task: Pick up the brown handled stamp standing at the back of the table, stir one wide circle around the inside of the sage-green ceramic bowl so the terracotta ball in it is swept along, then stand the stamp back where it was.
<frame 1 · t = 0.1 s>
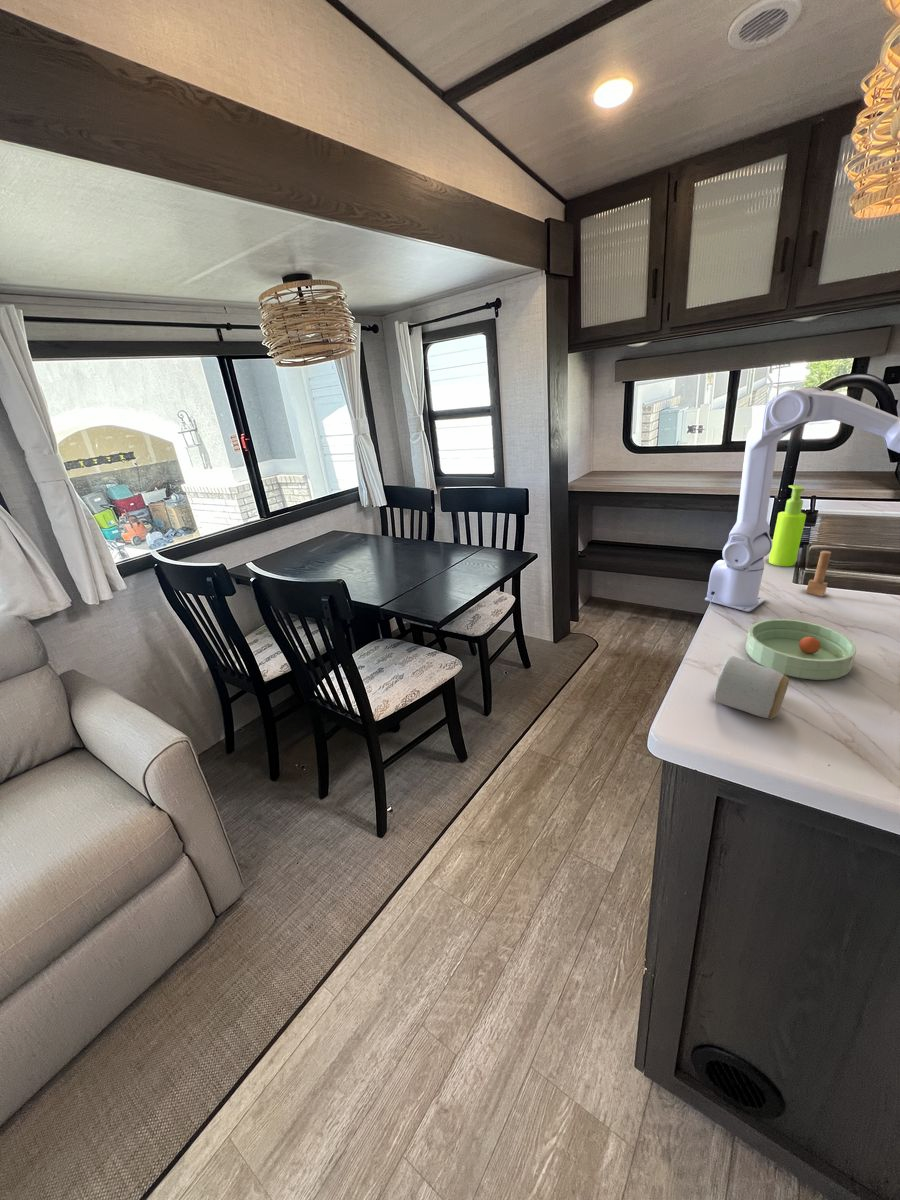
brown handled stamp: (815, 594, 105), on the counter
soap dispenser: (780, 562, 124), on the counter
ceramic mug: (746, 704, 73), on the counter
ball: (809, 645, 83), point 2 cm above the counter, touching bowl
bowl: (795, 657, 83), on the counter
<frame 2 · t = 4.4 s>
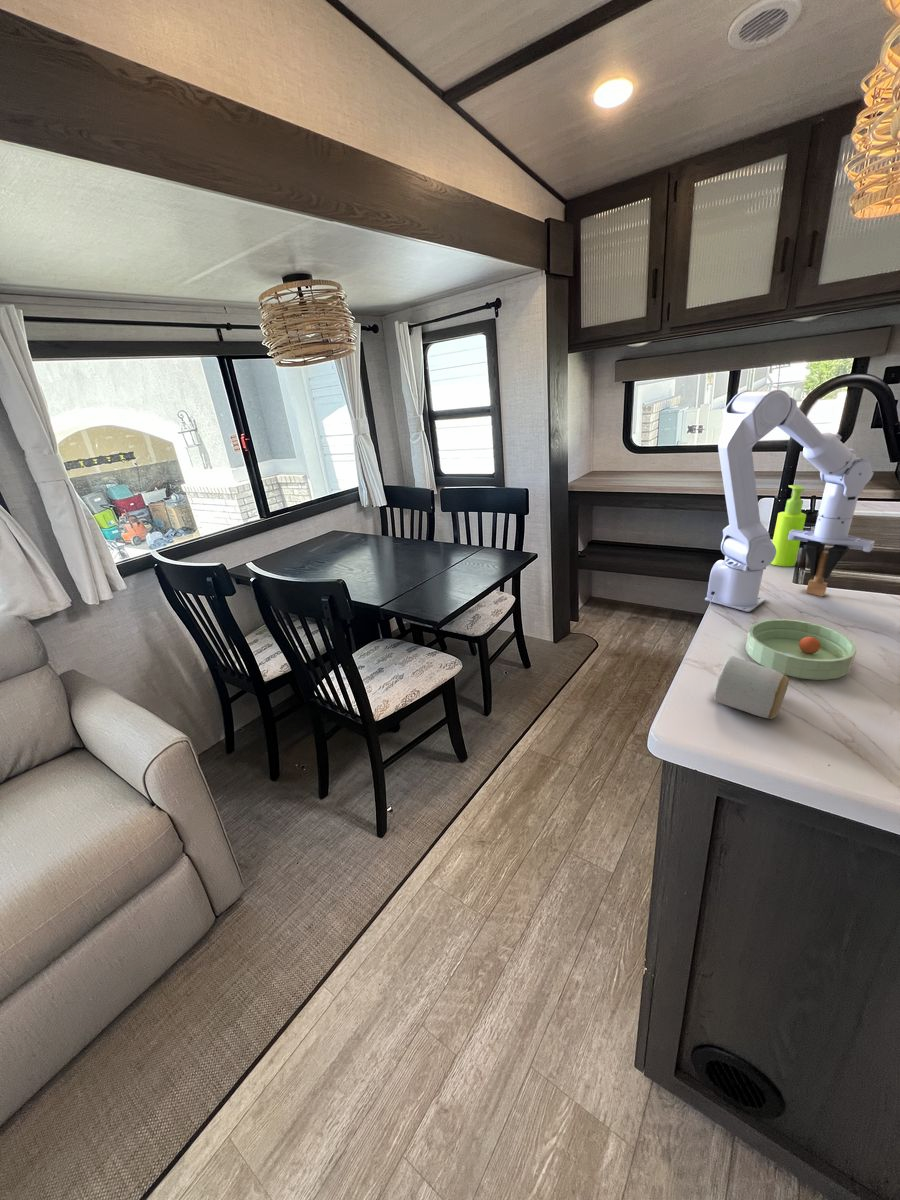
hand: (819, 575, 104), 4 cm above the counter, tool pointing down, fingers closed on brown handled stamp, 2 cm apart
brown handled stamp: (815, 594, 105), on the counter, touching gripper
everything else where it was.
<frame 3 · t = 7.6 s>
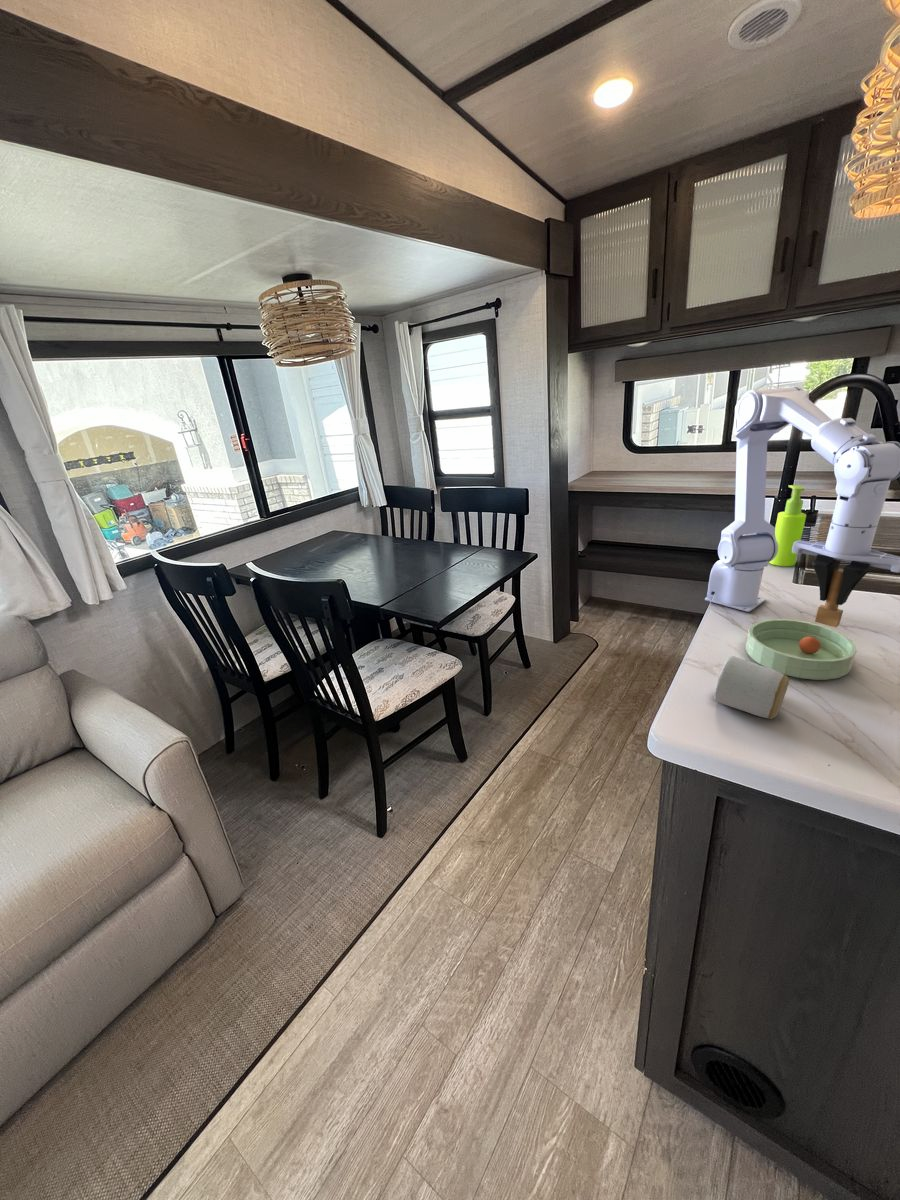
hand: (832, 601, 79), 10 cm above the counter, tool pointing down, fingers closed on brown handled stamp
brown handled stamp: (826, 623, 81), point 6 cm above the counter, touching gripper
everything else where it was.
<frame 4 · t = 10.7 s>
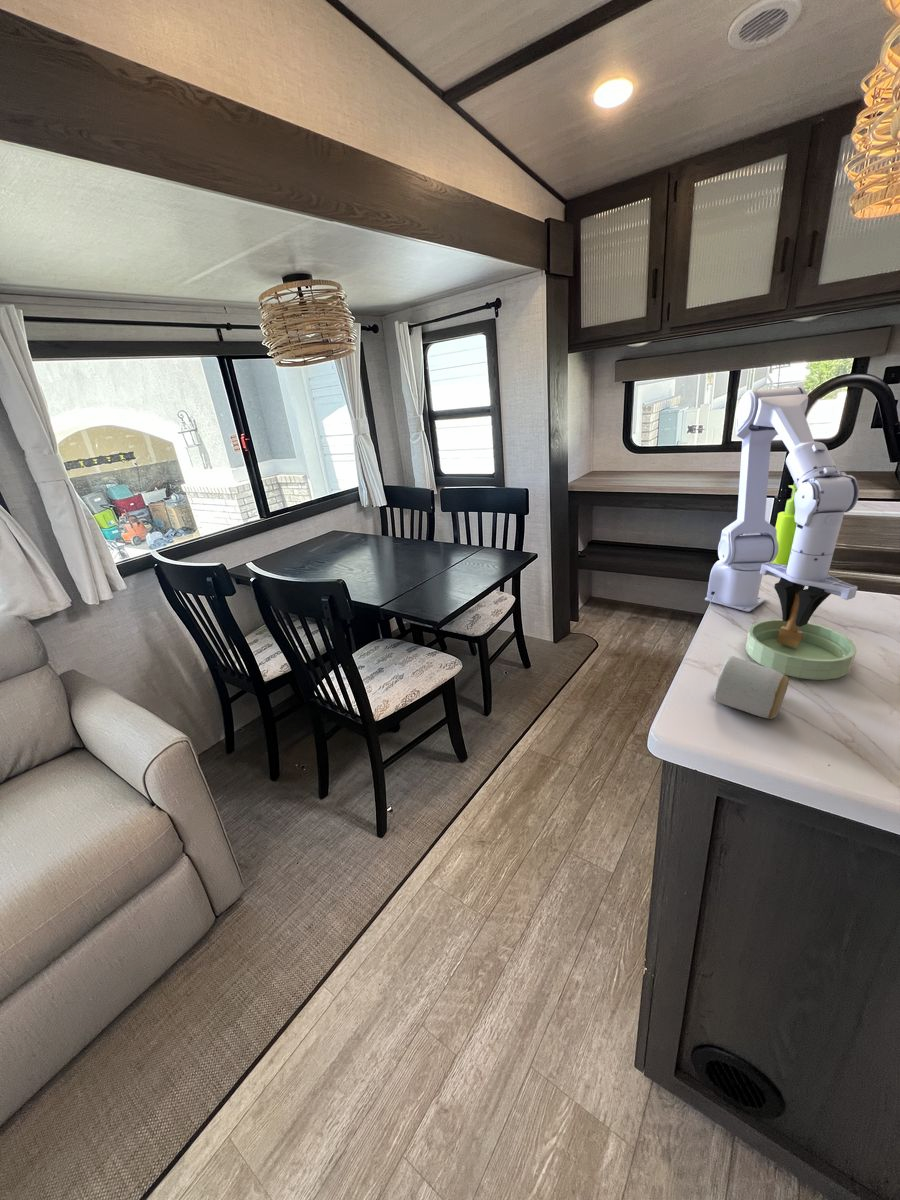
hand: (794, 622, 84), 6 cm above the counter, tool pointing down, fingers closed on brown handled stamp, 2 cm apart
brown handled stamp: (787, 644, 85), point 1 cm above the counter, touching gripper
ball: (792, 635, 86), point 2 cm above the counter, tilted 101°, touching bowl
everything else where it was.
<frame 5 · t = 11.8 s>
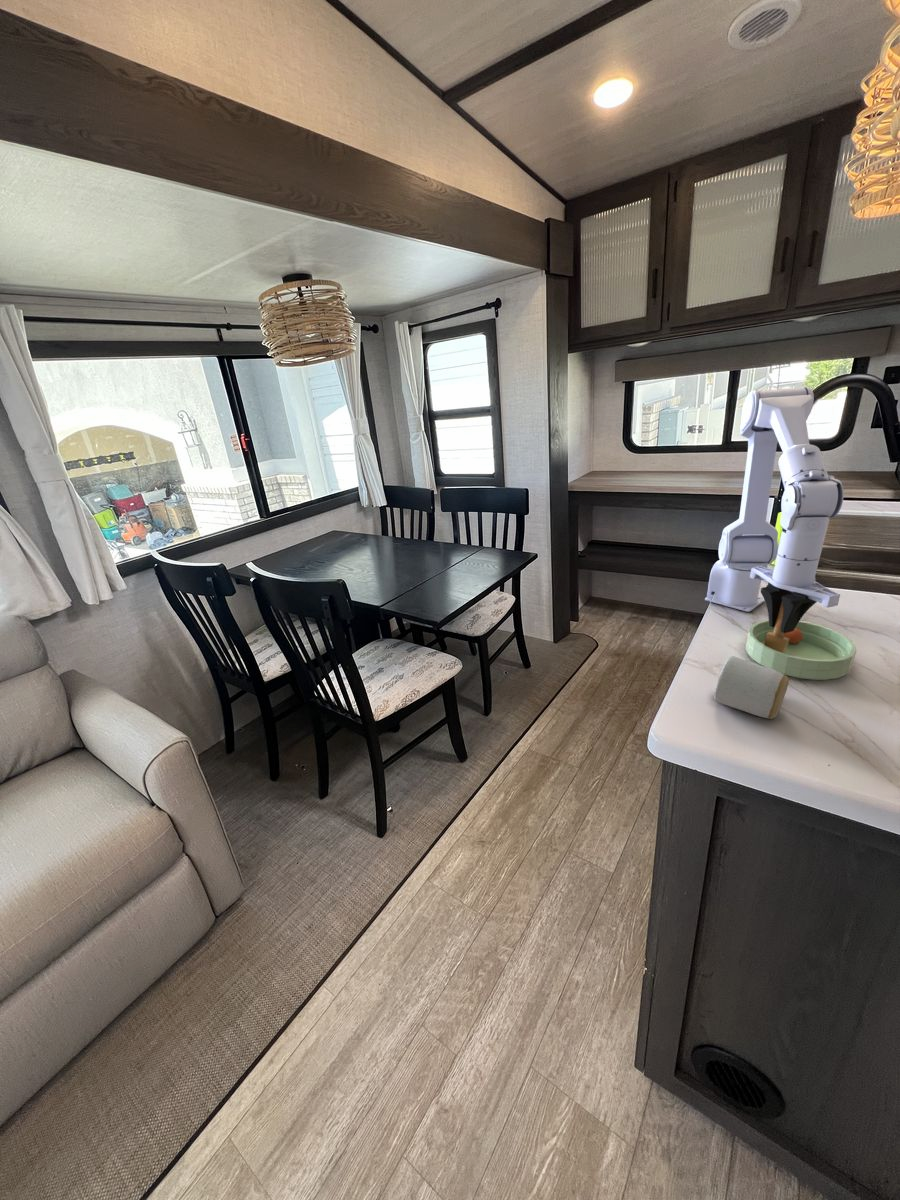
hand: (781, 628, 82), 6 cm above the counter, tool pointing down, fingers closed on brown handled stamp, 2 cm apart
brown handled stamp: (773, 650, 84), point 1 cm above the counter, touching gripper
everything else where it was.
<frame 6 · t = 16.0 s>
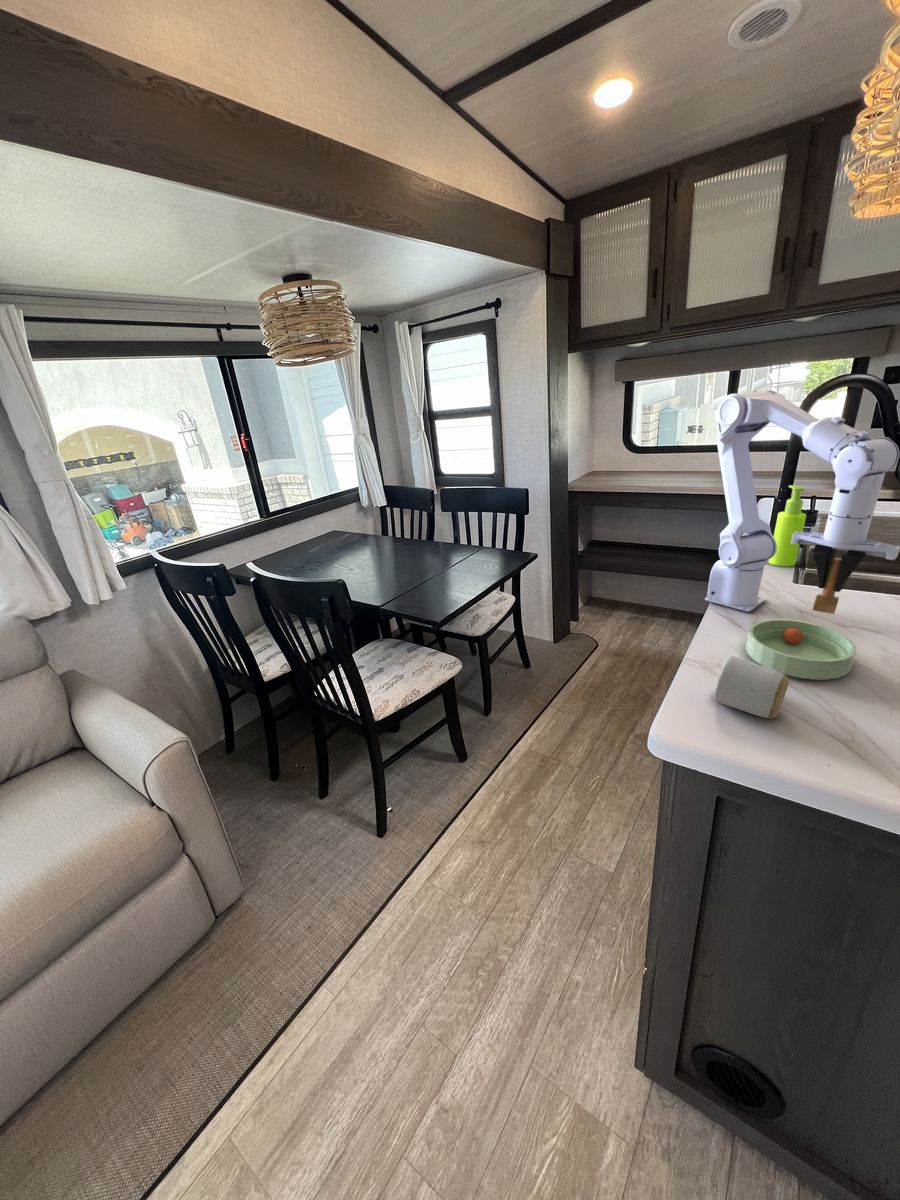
hand: (830, 588, 84), 10 cm above the counter, tool pointing down, fingers closed on brown handled stamp
brown handled stamp: (823, 611, 86), point 6 cm above the counter, touching gripper
everything else where it was.
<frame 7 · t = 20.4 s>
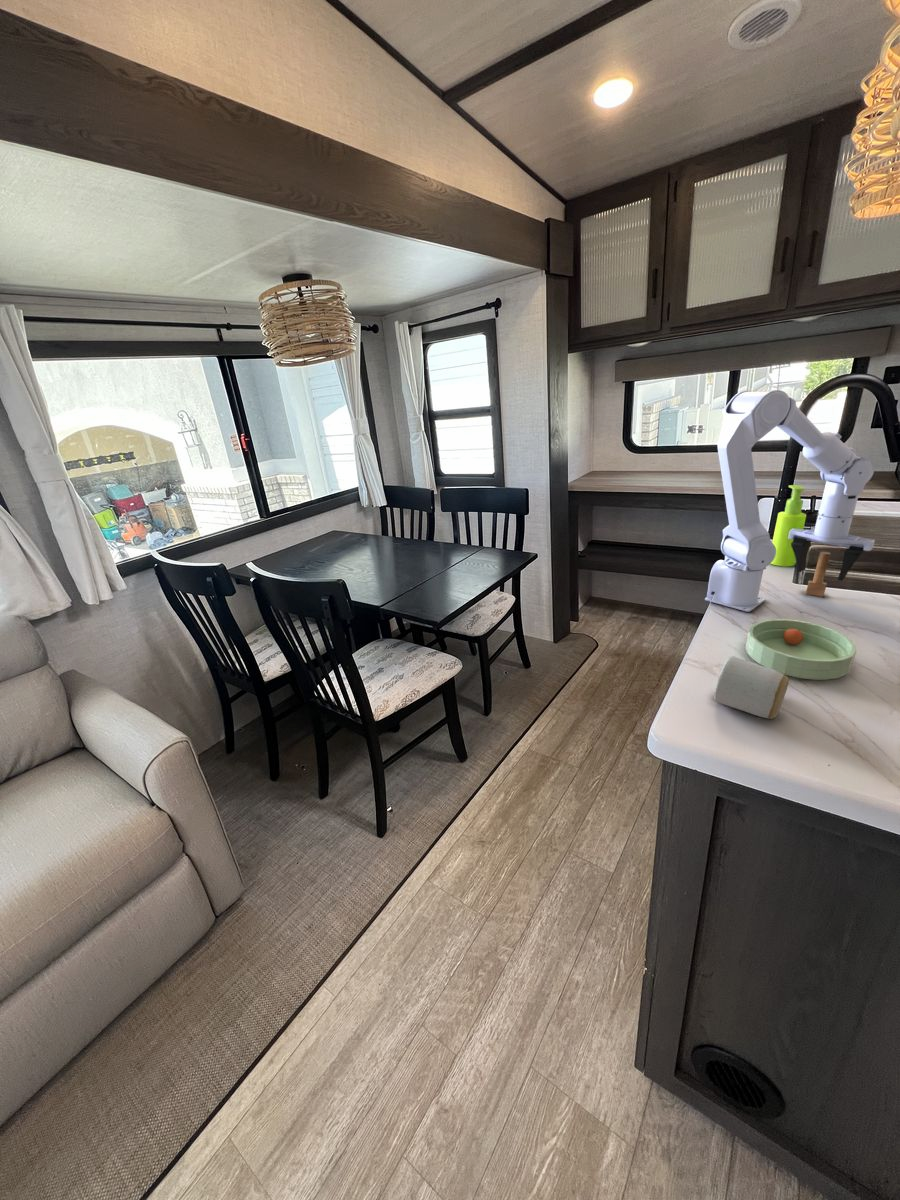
hand: (820, 575, 103), 5 cm above the counter, tool pointing down, fingers open, 7 cm apart
brown handled stamp: (814, 594, 105), on the counter
everything else where it was.
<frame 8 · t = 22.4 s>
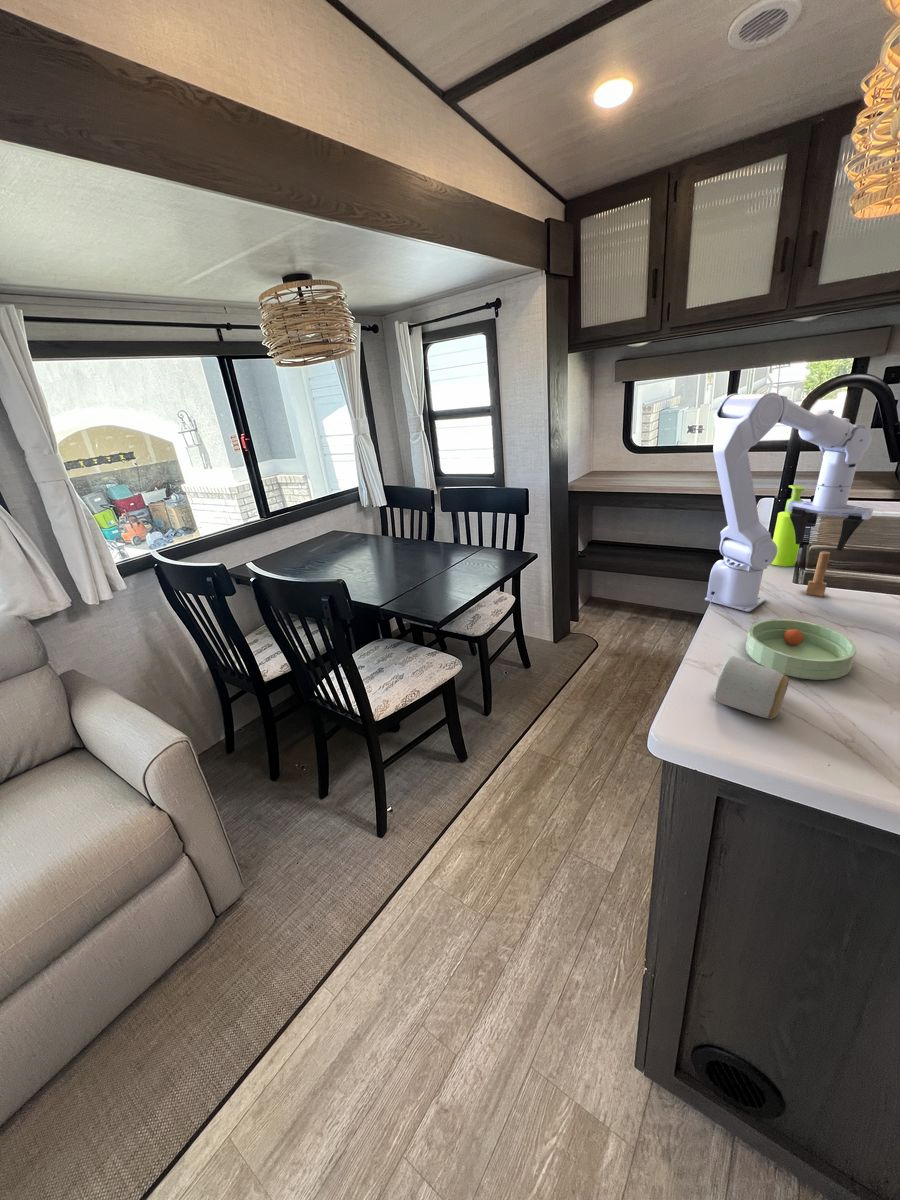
hand: (818, 546, 104), 10 cm above the counter, tool pointing down, fingers open, 7 cm apart
nothing on the counter moved.
at the end: ball moved 3.2 cm from its start; ball inside the target area in the bowl (4.2 cm from its centre), point 2.0 cm above the bowl's base; brown handled stamp tilted 0° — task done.
